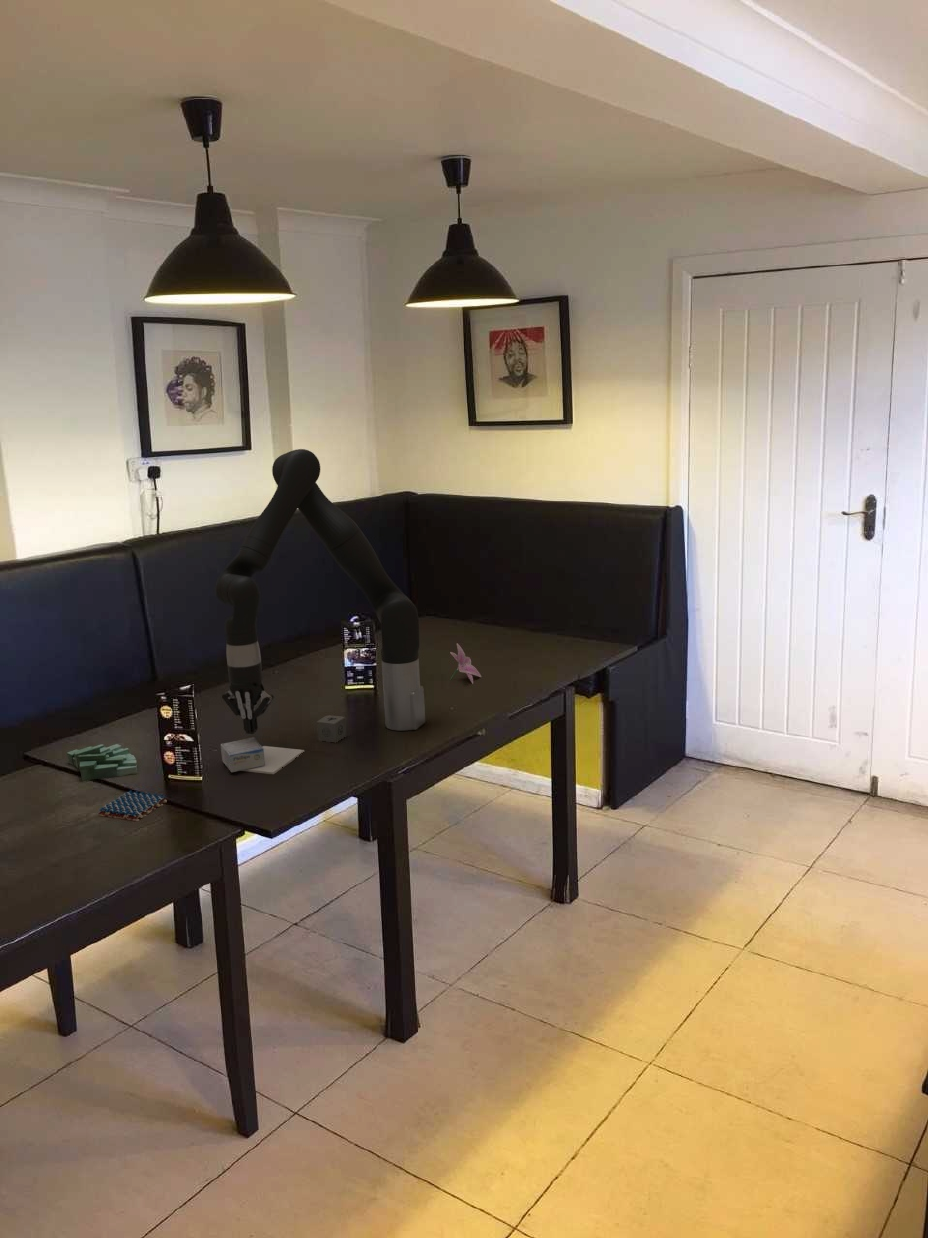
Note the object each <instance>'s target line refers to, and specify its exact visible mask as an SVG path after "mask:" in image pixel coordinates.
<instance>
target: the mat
mask: <svg viewBox="0 0 928 1238" xmlns="http://www.w3.org/2000/svg"><path fill="white" fill-rule="evenodd" d="M262 747H263V749H264V762H265V766H260V767H255V768H251V769H246V770H241V771H242V772H248V773H250V772H251V773H258V774H259V773H260V774H266V775H275V774H276V773H278V772H279V771H281V770H282V769H283V768H285V767H286V766H287V765H289V764H290V763H292V762H293V761H294V760H296V759H297V758H298V757H300V756H301V755H302V754H301V753H303V752H304V753H305V750H304V749H296V748H286V747H277V746H268V745H263V746H262ZM304 753H303V754H304ZM300 754H301V755H300ZM299 755H300V756H299ZM296 757H297V758H296ZM295 758H296V759H295ZM282 767H283V768H282ZM241 771H240V772H241Z"/></svg>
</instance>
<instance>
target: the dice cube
mask: <svg viewBox="0 0 928 1238" xmlns="http://www.w3.org/2000/svg"><path fill="white" fill-rule="evenodd" d="M346 724H347V723H346V717H345V716H341V715H340V716H338V715H330V714H327V715H325V716H324V717H322V718H320V719H319V720H317V721H316V731H317V732H316V733H317V741H318V740H319V741H318V742H322V741H326V742H325V743H330V742H335V743H334V744H337V743H338V741H339V740H340V741H342V740H343V739H345V738H346V737H347V725H346ZM344 737H345V738H344ZM341 739H342V740H341ZM340 741H339V742H340ZM336 742H337V743H336Z"/></svg>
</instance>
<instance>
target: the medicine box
mask: <svg viewBox="0 0 928 1238" xmlns="http://www.w3.org/2000/svg"><path fill="white" fill-rule="evenodd" d="M220 752H221V753H220V754H221V758H222V759H221V761H222V762H223V764H225V766H226V767H227V769H228V770H229V772H231V773H237V772H241V770H246V769H251V768H255V767H260V766H265V762H264V749H263V746H262V745H261V744H260V743H259V742H258V741H257V740H256V738H255V737H248V738H243V739H238V740H234V741H229V742H225V743H220Z"/></svg>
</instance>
